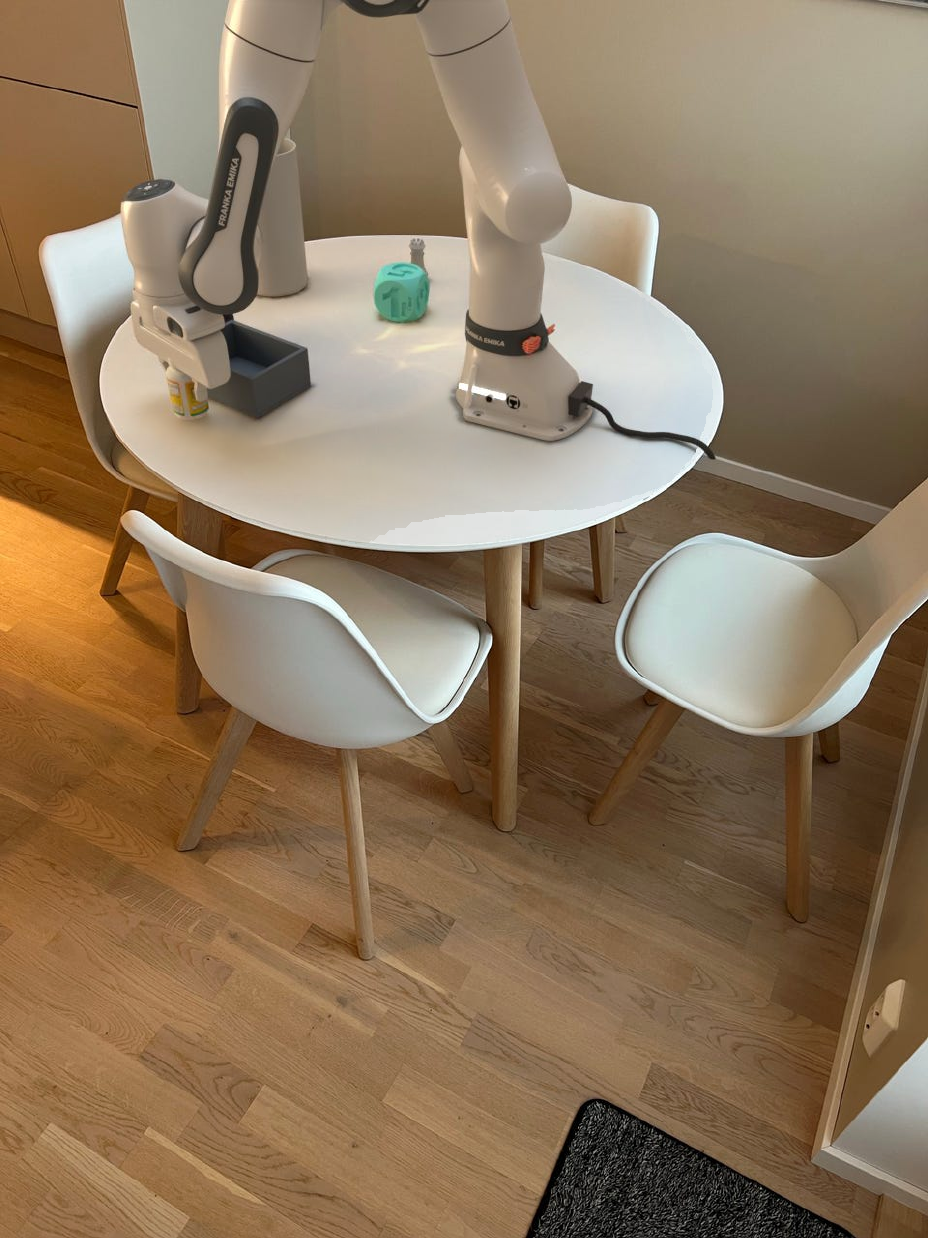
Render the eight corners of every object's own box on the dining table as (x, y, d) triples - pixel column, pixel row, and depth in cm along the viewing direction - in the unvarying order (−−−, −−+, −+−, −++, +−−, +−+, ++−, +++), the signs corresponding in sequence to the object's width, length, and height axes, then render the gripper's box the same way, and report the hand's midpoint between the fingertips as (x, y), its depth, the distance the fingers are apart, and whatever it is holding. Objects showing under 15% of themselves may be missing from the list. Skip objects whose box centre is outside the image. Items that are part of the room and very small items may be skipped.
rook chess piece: (402, 278, 184) (402, 237, 178) (423, 275, 185) (423, 234, 180) (411, 287, 181) (410, 246, 175) (432, 284, 182) (432, 243, 177)
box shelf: (311, 386, 152) (307, 347, 148) (258, 418, 145) (252, 379, 140) (237, 356, 159) (231, 319, 154) (182, 386, 151) (174, 347, 146)
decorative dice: (374, 318, 171) (372, 275, 165) (390, 300, 176) (389, 258, 171) (414, 325, 169) (414, 283, 164) (429, 307, 175) (430, 265, 169)
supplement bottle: (170, 420, 142) (158, 363, 135) (177, 402, 145) (166, 345, 139) (206, 420, 142) (195, 363, 135) (212, 402, 146) (202, 346, 139)
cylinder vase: (230, 281, 180) (210, 143, 163) (284, 265, 187) (270, 130, 170) (266, 303, 174) (248, 161, 157) (320, 286, 180) (309, 148, 163)
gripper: (112, 286, 135) (133, 373, 144) (192, 334, 125) (209, 424, 134) (150, 274, 138) (168, 359, 148) (231, 320, 128) (244, 408, 138)
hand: (188, 390), depth 141 cm, fingers closed on supplement bottle, 5 cm apart
